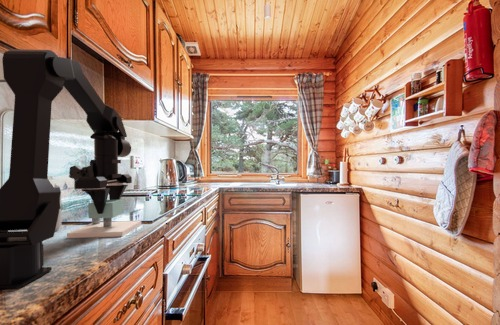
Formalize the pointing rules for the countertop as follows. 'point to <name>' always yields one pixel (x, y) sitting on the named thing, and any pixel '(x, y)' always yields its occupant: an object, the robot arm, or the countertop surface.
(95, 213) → the block with square hole
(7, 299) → the countertop surface
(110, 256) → the countertop surface
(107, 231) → the base plate
